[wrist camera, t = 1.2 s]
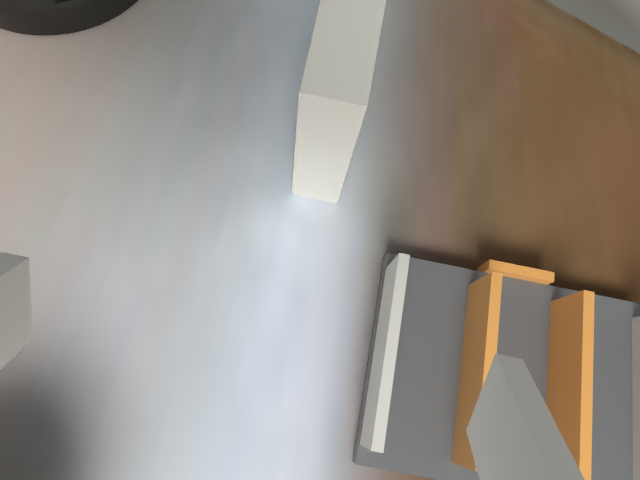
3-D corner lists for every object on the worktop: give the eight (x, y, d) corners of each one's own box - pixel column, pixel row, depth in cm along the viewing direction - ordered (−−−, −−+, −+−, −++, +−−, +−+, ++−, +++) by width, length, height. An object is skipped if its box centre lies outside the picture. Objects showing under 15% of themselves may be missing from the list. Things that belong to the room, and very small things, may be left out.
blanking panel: (309, 114, 35) (324, -17, 24) (352, 123, 35) (387, -4, 24) (291, 194, 33) (299, 92, 22) (337, 203, 33) (367, 106, 22)
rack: (384, 248, 32) (402, 224, 28) (629, 297, 33) (685, 282, 28) (352, 461, 28) (366, 473, 24) (630, 514, 29) (695, 536, 24)
